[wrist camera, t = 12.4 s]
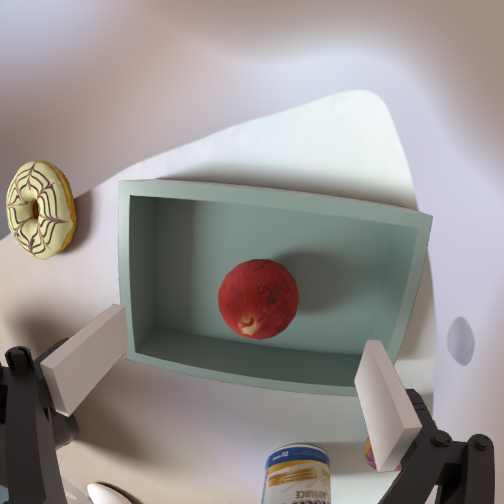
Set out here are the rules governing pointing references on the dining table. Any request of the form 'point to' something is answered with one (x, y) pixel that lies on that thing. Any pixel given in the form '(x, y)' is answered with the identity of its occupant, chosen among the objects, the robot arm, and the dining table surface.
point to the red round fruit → (258, 299)
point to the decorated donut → (41, 209)
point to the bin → (276, 249)
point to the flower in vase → (105, 495)
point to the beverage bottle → (297, 476)
